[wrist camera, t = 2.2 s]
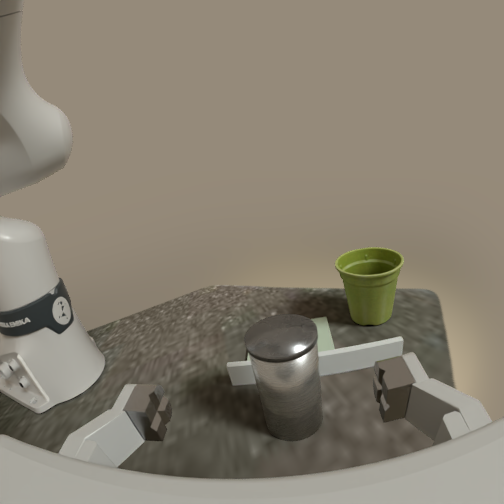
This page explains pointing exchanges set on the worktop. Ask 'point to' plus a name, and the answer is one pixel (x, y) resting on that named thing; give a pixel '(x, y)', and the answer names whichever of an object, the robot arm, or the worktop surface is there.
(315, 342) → the canister
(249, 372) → the wall
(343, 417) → the worktop surface
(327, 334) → the pad
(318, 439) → the worktop surface
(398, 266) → the plant pot
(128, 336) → the worktop surface
